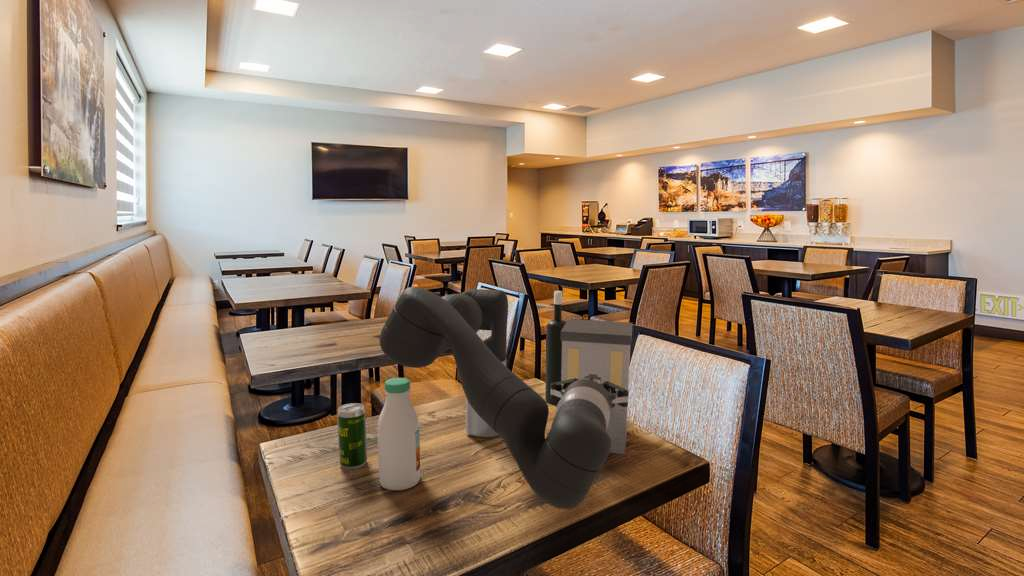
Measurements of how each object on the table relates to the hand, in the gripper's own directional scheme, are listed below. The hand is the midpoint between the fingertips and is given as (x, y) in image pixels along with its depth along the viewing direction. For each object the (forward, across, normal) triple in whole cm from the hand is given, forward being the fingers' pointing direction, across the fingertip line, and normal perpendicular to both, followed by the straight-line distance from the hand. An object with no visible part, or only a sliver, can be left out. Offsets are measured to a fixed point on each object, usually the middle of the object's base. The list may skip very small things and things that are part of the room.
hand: (593, 379), depth 94 cm
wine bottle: (+48, -13, -21) cm, 53 cm away
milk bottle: (-2, -36, -23) cm, 42 cm away
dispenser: (+26, -1, -21) cm, 33 cm away
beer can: (+2, -48, -23) cm, 53 cm away
